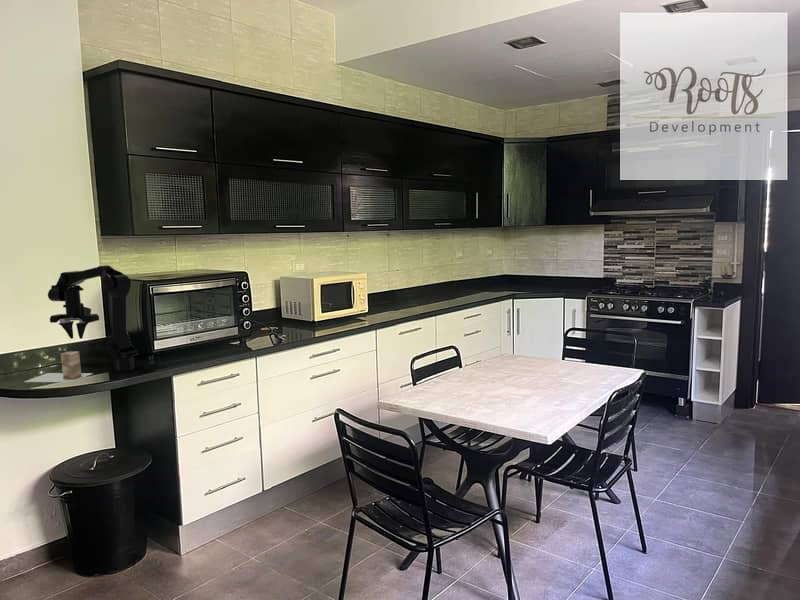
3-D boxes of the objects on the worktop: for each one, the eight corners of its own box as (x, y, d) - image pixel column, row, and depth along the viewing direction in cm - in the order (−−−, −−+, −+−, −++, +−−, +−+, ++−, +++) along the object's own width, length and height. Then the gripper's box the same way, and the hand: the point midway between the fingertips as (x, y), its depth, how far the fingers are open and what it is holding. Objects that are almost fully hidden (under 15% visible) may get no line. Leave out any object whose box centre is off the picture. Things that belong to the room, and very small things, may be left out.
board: (93, 375, 236) (93, 373, 236) (71, 384, 223) (71, 382, 223) (48, 375, 238) (47, 373, 238) (23, 384, 226) (23, 381, 225)
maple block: (81, 376, 231) (78, 351, 230) (73, 379, 227) (71, 354, 225) (71, 376, 232) (68, 351, 230) (63, 379, 227) (60, 354, 226)
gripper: (105, 298, 251) (108, 334, 253) (65, 299, 254) (69, 334, 256) (88, 302, 240) (92, 340, 242) (46, 302, 243) (50, 340, 245)
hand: (76, 338), depth 247 cm, fingers open, 4 cm apart
